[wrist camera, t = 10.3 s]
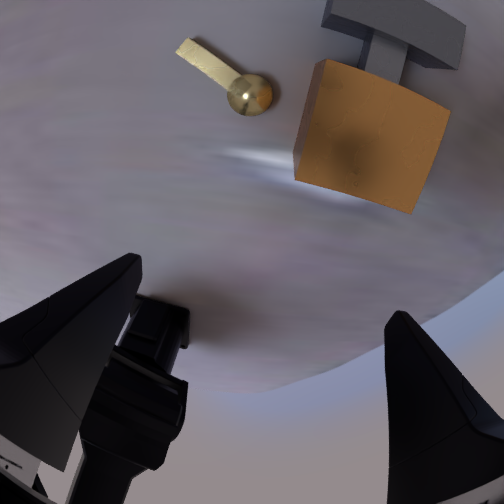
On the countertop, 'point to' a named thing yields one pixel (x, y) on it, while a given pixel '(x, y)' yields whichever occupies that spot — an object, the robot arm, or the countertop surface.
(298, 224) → the countertop surface
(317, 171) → the wooden u-channel block
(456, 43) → the hammer
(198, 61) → the brass measuring spoon
